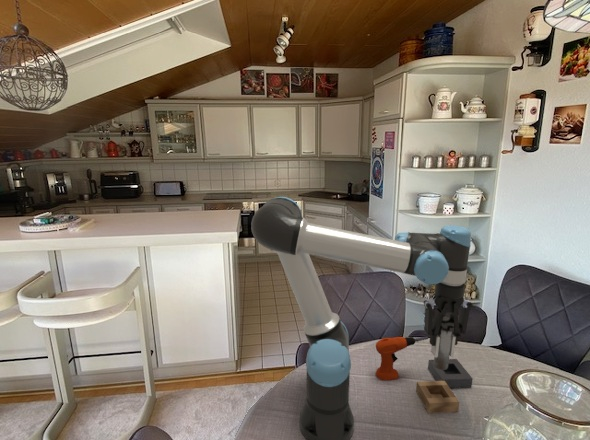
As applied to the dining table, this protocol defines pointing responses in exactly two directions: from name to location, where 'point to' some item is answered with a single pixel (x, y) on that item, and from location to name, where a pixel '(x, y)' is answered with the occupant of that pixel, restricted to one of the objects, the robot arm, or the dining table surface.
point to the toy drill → (392, 355)
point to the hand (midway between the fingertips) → (442, 354)
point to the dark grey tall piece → (444, 343)
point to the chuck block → (451, 374)
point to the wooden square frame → (437, 397)
